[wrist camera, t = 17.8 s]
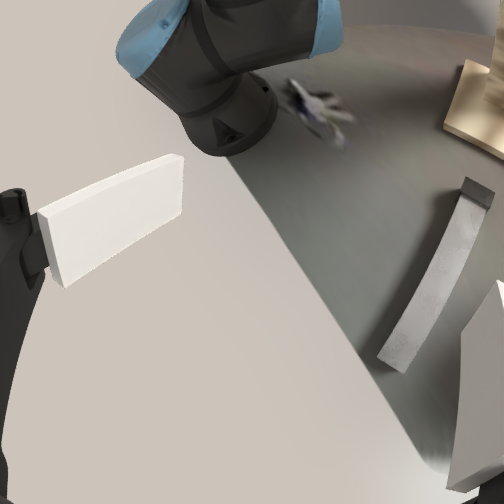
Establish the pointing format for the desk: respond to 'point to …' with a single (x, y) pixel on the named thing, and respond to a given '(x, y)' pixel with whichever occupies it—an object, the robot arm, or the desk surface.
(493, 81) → the birch stand
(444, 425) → the desk surface
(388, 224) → the desk surface
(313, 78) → the desk surface
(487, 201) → the metal block
